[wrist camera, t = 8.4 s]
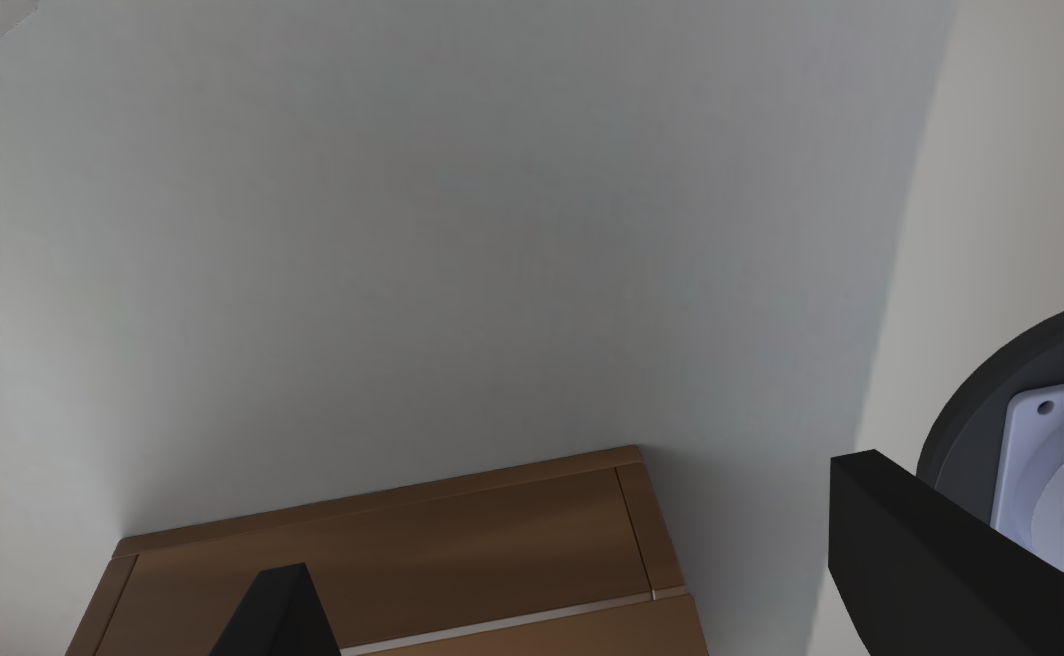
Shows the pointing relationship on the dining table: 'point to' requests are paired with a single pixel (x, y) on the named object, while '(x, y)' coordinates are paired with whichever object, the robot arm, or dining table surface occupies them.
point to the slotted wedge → (15, 12)
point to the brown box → (584, 634)
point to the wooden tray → (403, 560)
